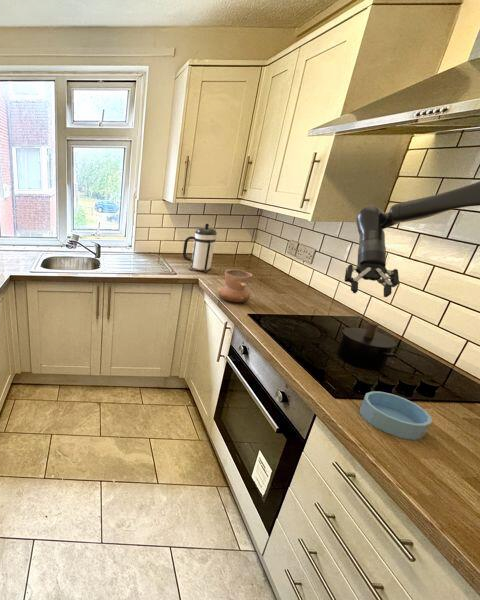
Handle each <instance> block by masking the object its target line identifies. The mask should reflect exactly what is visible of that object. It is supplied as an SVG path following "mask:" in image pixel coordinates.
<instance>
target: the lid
mask: <svg viewBox="0 0 480 600" xmlns="http://www.w3.org/2000/svg"><path fill="white" fill-rule="evenodd" d="M344 328H345V329H344ZM344 328H343V329H344V330H343V329H342V336H343V335H344V336H346V337H347V338H349V339H350V340H352V341H354V342H357V343H360V344H363V345H366V346H370V347H374V348H381V349H391V348H392V349H394V348H396V347H397V342H396V341H395V340H394V339H393V338H391V337H390V336H388V335H385V334H383V333H381V332H379V331H378V328H379V323H377V322H374V321H369V322H368V325H367V327H366V328H362V327H361V328H360V327H344Z"/></svg>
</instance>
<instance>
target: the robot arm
mask: <svg viewBox="0 0 480 600" xmlns="http://www.w3.org/2000/svg"><path fill="white" fill-rule="evenodd" d="M468 207H480V181H477V182H474V183H471V184H468V185H464V186H461V187H458V188H455V189H451V190H448V191H445V192H441V193H437V194H433V195H429V196H425V197H424V196H423V197H421V198H416V199H411V200H407V201H402V202H398V203H395V204H393V205H392V206H391V207H390V208H389V211H388V212H384V211H383V210H382V209H381V208H380V207H379V206H377V205H371V204H370V205H366V206H364V207H362V208H361V209H360V210H359V211H358V212H357V214H356V217H355V223H356V227H357V231H358V235H359V239H358V249H357V264H356V265H357V266H354V265H353V264H348V266H347V267H346V268H345V274H344V282H346V283H349V284H350V291H351V292H352V294H357V293H358V291H359V281H360V280H362V279H363V280H364V281H374V282H377V283H378V284H381V286H383V298H388V297H389V296H390V295H392V293H393V292H392V291H393V290H392V288H396V287H397V286H398V285H400V278H399V277H400V276H399V270H398V269H397V268H394V269H387V267H386V264H387V247H386V234H385V233H386V232H385V231H384V230H385V229H388V228H391V227H393V226H397V225H398V224H401V223H407V222H413V221H419V220H422V219H427V218H431V217H435V216H437V215H440V214H442V213H445V212H449V211H452V210H453V211H454V210H456V209H462V208H468ZM354 271H355V272H356V273H357V275H356V276H355V277H352V276H353V272H354Z"/></svg>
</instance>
